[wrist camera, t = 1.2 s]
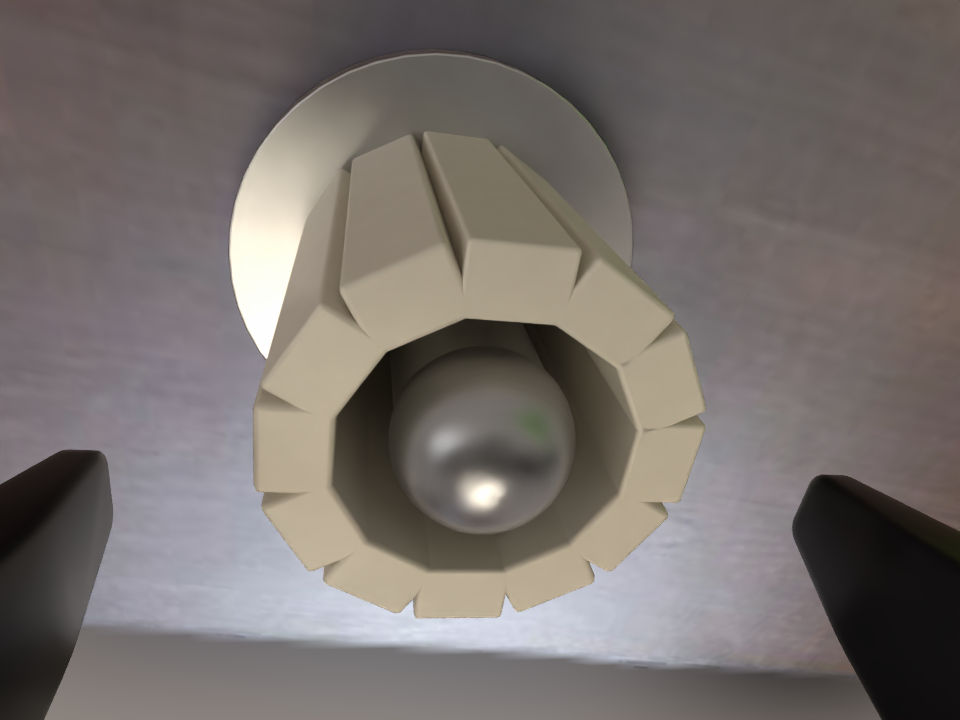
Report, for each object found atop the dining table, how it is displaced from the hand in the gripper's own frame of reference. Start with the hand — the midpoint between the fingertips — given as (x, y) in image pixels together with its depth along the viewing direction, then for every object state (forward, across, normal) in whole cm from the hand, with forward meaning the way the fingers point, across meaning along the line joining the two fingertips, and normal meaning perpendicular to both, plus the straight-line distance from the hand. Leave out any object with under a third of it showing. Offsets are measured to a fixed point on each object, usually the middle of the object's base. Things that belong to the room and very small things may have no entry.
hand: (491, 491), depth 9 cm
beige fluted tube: (+8, 0, 0) cm, 8 cm away
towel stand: (+9, 0, 0) cm, 9 cm away
